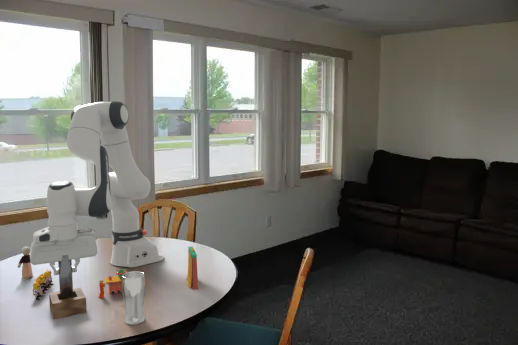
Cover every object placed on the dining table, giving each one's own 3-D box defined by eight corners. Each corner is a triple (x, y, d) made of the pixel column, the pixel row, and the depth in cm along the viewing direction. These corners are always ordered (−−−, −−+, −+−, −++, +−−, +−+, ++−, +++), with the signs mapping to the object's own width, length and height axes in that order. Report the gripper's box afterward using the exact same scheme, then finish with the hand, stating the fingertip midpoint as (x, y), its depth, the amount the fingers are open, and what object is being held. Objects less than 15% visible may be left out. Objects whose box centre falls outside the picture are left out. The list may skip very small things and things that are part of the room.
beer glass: (125, 316, 151) (124, 271, 149) (147, 315, 151) (146, 270, 149) (121, 326, 144) (119, 278, 142) (144, 325, 144) (142, 278, 142)
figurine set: (29, 301, 162) (28, 283, 162) (45, 284, 179) (44, 267, 178) (40, 301, 163) (38, 283, 162) (54, 283, 179) (53, 267, 178)
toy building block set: (198, 289, 173) (197, 252, 171) (98, 300, 163) (96, 261, 162) (193, 277, 185) (192, 243, 183) (99, 287, 175) (97, 250, 173)
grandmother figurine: (25, 281, 181) (23, 249, 179) (17, 280, 182) (14, 248, 180) (38, 274, 188) (36, 243, 187) (30, 273, 189) (28, 243, 188)
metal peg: (72, 291, 157) (70, 251, 155) (74, 296, 154) (72, 254, 152) (59, 294, 155) (57, 253, 153) (60, 298, 152) (58, 256, 150)
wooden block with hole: (81, 301, 162) (80, 287, 161) (86, 312, 154) (85, 297, 153) (49, 307, 157) (48, 293, 156) (53, 319, 149) (52, 303, 148)
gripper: (94, 225, 160) (96, 265, 161) (27, 233, 149) (30, 275, 151) (98, 230, 154) (100, 270, 156) (29, 238, 144) (32, 281, 146)
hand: (65, 273), depth 154 cm, fingers closed on metal peg, 4 cm apart
